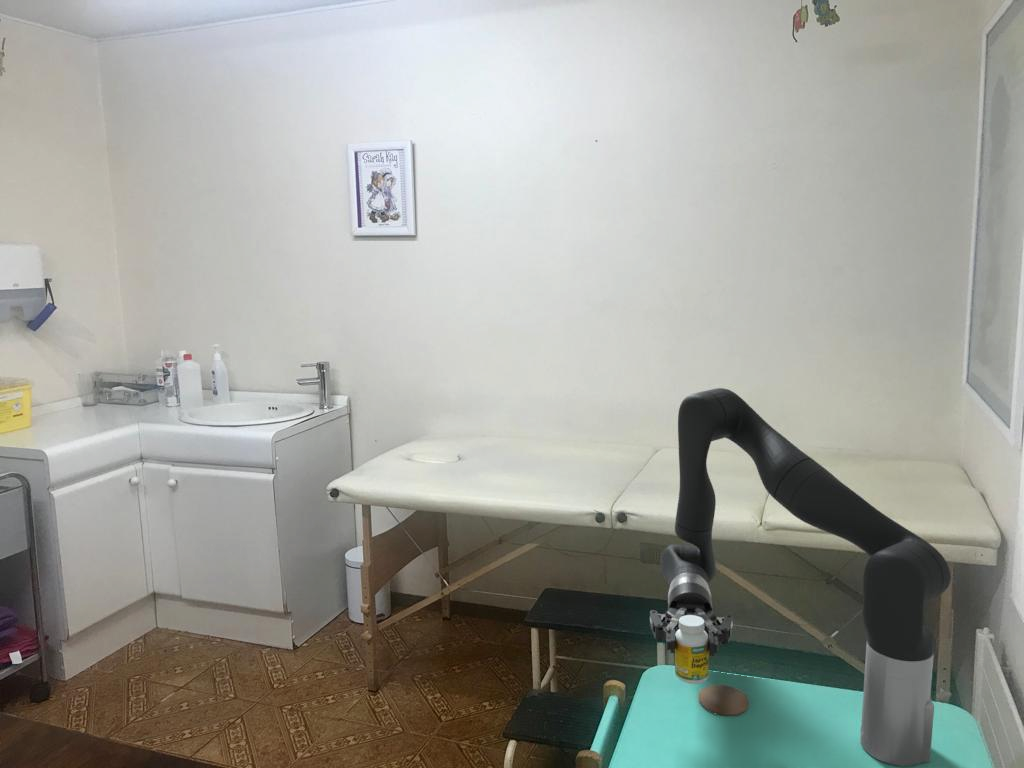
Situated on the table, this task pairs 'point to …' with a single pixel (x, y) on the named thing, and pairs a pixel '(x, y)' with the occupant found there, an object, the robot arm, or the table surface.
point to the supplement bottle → (691, 650)
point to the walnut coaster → (723, 700)
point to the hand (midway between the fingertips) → (692, 648)
